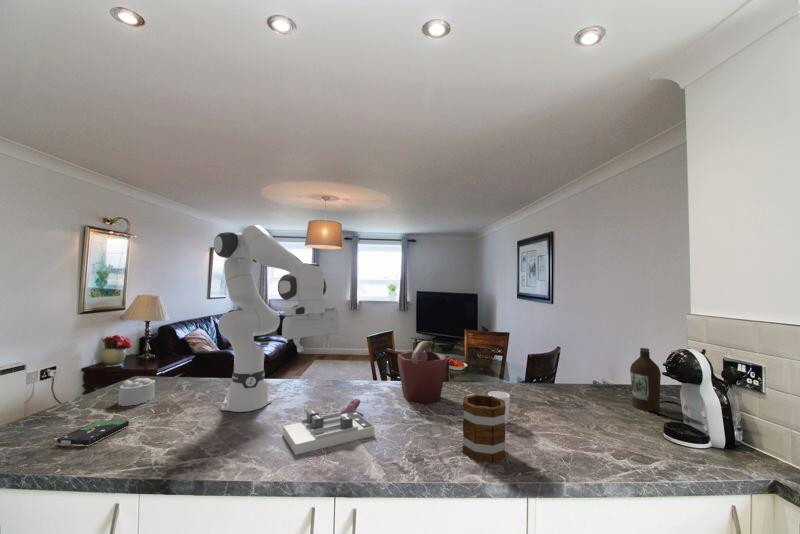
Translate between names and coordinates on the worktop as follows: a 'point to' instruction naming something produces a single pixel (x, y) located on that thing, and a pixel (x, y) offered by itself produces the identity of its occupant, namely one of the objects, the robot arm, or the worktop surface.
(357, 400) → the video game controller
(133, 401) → the lumpy-topped squat cylinder
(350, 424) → the tab
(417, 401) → the bucket
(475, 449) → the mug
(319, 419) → the middle tab
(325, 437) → the switch bank
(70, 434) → the disk drive
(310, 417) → the tab
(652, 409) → the olive oil
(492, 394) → the white cup
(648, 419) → the worktop surface
